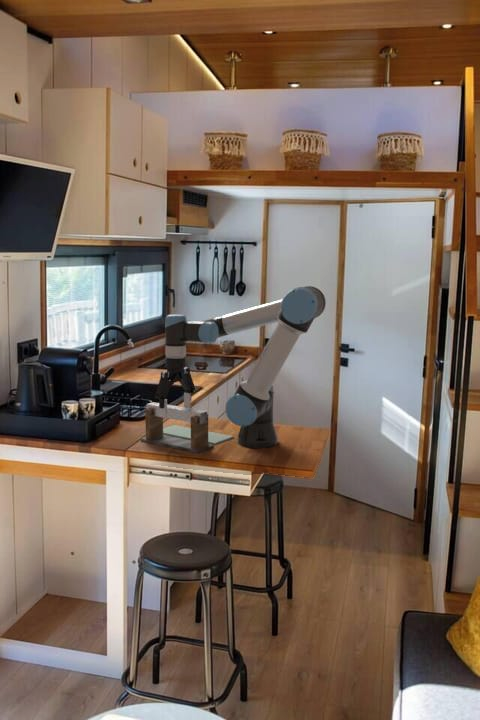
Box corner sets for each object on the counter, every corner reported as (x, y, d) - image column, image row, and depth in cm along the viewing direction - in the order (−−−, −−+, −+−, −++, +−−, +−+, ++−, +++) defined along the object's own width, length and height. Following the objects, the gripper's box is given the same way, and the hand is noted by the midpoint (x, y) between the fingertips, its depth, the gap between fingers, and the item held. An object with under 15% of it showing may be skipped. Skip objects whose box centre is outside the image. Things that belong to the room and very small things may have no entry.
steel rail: (207, 422, 252) (207, 411, 251) (200, 424, 249) (200, 413, 248) (153, 412, 267) (153, 402, 266) (146, 414, 264) (146, 404, 263)
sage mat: (233, 437, 269) (233, 436, 269) (215, 444, 259) (215, 443, 259) (174, 426, 286) (174, 425, 286) (154, 432, 276) (154, 431, 276)
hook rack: (213, 447, 255) (213, 414, 253) (198, 453, 248) (198, 419, 246) (156, 435, 271) (156, 404, 269) (140, 440, 264) (140, 408, 262)
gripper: (189, 351, 266) (189, 405, 270) (144, 359, 246) (145, 418, 250) (204, 353, 262) (204, 408, 266) (160, 362, 242) (160, 421, 245)
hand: (175, 413), depth 258 cm, fingers open, 13 cm apart
